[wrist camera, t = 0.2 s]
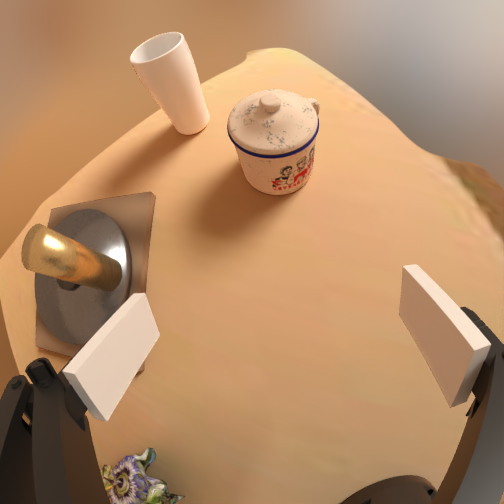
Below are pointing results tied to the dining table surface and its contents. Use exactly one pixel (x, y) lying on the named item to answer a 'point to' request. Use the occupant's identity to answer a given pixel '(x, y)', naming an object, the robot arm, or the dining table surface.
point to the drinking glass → (172, 80)
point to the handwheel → (79, 273)
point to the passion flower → (136, 482)
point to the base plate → (138, 235)
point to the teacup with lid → (275, 139)
